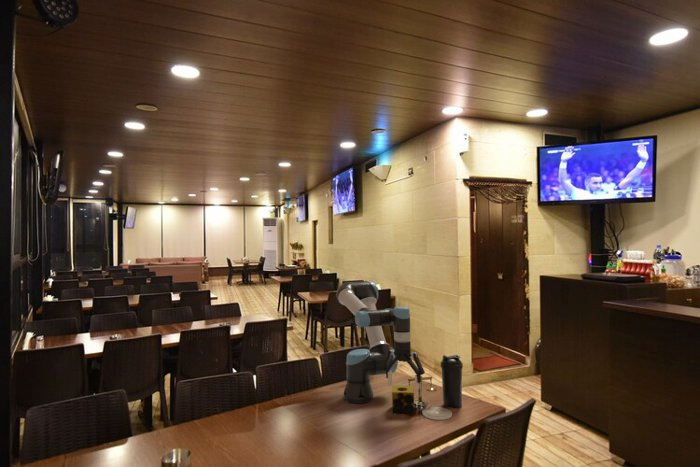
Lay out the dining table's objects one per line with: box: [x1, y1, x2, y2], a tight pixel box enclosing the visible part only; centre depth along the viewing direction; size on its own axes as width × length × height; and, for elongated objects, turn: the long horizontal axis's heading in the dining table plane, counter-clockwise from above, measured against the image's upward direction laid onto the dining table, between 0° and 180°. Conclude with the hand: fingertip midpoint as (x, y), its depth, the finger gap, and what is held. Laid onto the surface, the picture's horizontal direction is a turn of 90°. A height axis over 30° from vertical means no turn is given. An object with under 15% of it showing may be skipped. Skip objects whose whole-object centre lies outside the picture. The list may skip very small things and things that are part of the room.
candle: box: [391, 385, 416, 415], centre depth 191 cm, size 10×10×10 cm
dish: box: [422, 406, 453, 421], centre depth 186 cm, size 13×13×1 cm
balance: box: [407, 375, 437, 406], centre depth 199 cm, size 16×5×14 cm, turn 59°
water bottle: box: [440, 354, 464, 409], centre depth 197 cm, size 10×10×23 cm
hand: (403, 387), depth 191 cm, fingers open, 13 cm apart
